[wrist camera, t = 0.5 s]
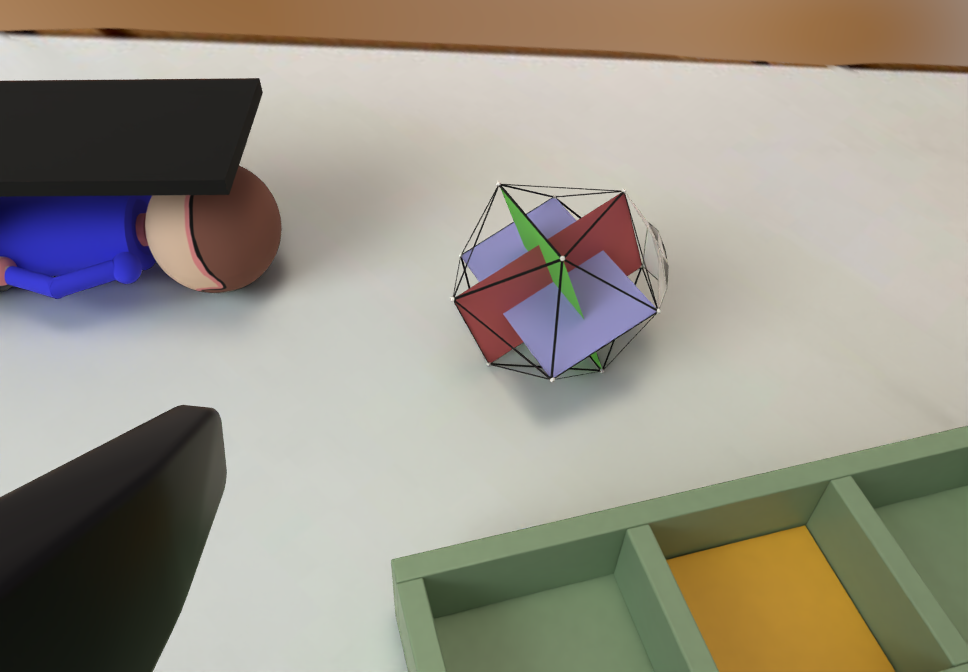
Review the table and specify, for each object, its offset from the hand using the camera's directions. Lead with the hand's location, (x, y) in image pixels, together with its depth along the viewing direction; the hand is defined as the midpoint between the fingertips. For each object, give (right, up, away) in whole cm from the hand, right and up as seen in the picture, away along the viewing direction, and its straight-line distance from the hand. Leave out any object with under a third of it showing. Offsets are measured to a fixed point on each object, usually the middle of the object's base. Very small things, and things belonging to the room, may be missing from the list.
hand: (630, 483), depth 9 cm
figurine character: (-17, +4, +25) cm, 30 cm away
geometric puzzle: (+1, +1, +23) cm, 23 cm away
